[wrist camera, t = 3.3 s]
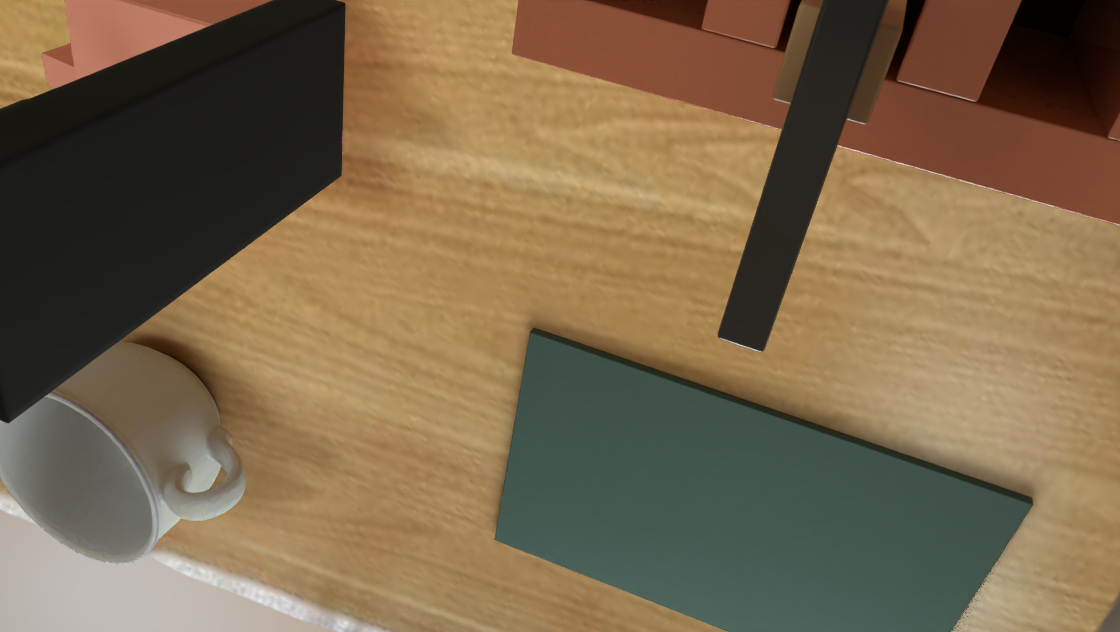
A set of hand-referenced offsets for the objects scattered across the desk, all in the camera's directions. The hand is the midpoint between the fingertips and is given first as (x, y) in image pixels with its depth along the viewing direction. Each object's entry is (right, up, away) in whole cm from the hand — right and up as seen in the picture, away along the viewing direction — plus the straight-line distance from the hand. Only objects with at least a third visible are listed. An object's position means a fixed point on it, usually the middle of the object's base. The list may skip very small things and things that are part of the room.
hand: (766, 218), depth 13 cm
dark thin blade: (+7, +11, +17) cm, 21 cm away
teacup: (-24, -6, +41) cm, 47 cm away
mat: (+5, -11, +31) cm, 34 cm away
